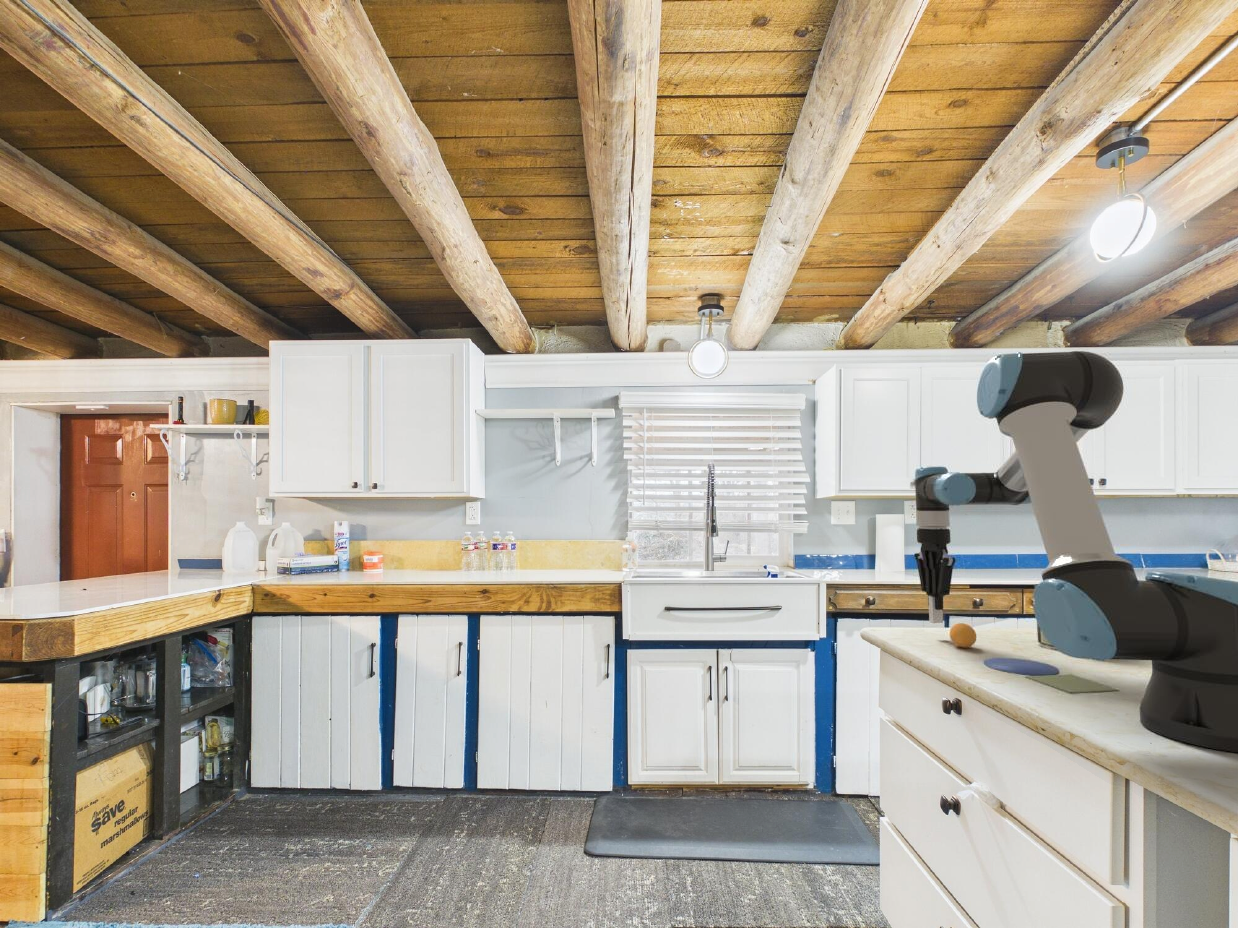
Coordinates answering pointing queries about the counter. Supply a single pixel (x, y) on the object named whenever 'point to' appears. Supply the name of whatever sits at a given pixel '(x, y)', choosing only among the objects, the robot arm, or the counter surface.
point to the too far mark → (1071, 683)
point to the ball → (963, 635)
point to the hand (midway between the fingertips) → (936, 622)
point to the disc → (1021, 666)
